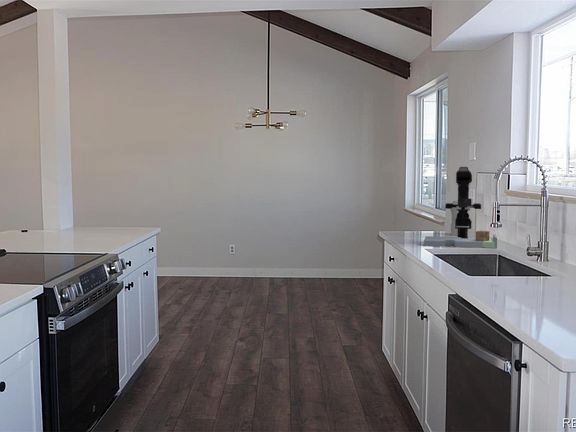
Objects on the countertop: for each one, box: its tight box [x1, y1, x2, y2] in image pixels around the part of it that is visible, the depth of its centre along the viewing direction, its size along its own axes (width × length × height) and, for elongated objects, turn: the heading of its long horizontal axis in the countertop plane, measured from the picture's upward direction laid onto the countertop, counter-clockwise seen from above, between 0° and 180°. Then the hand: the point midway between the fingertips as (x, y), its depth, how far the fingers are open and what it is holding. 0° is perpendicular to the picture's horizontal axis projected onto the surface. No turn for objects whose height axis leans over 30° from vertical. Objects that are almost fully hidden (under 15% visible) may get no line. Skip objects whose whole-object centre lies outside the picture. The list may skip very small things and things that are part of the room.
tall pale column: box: [450, 199, 469, 237], centre depth 335 cm, size 11×4×22 cm, turn 76°
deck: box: [423, 233, 498, 249], centre depth 296 cm, size 18×37×5 cm, turn 72°
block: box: [475, 230, 490, 242], centre depth 289 cm, size 5×5×5 cm
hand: (462, 221), depth 301 cm, fingers closed
